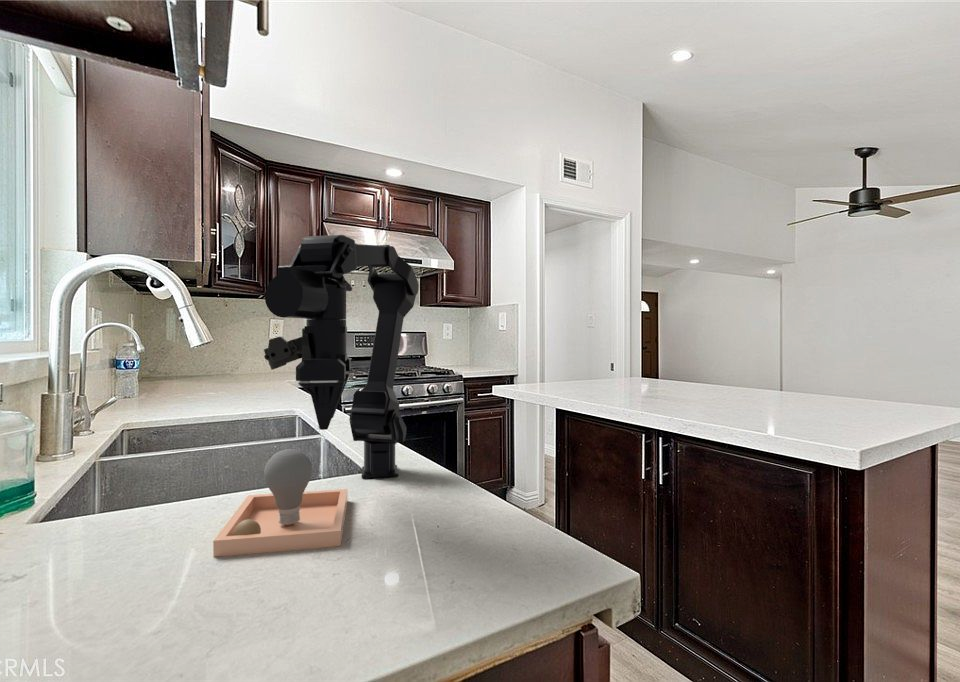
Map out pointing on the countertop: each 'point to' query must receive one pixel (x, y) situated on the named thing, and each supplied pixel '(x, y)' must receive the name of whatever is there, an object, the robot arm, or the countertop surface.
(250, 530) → the cork ball
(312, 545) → the dish
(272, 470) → the light bulb
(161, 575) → the countertop surface
